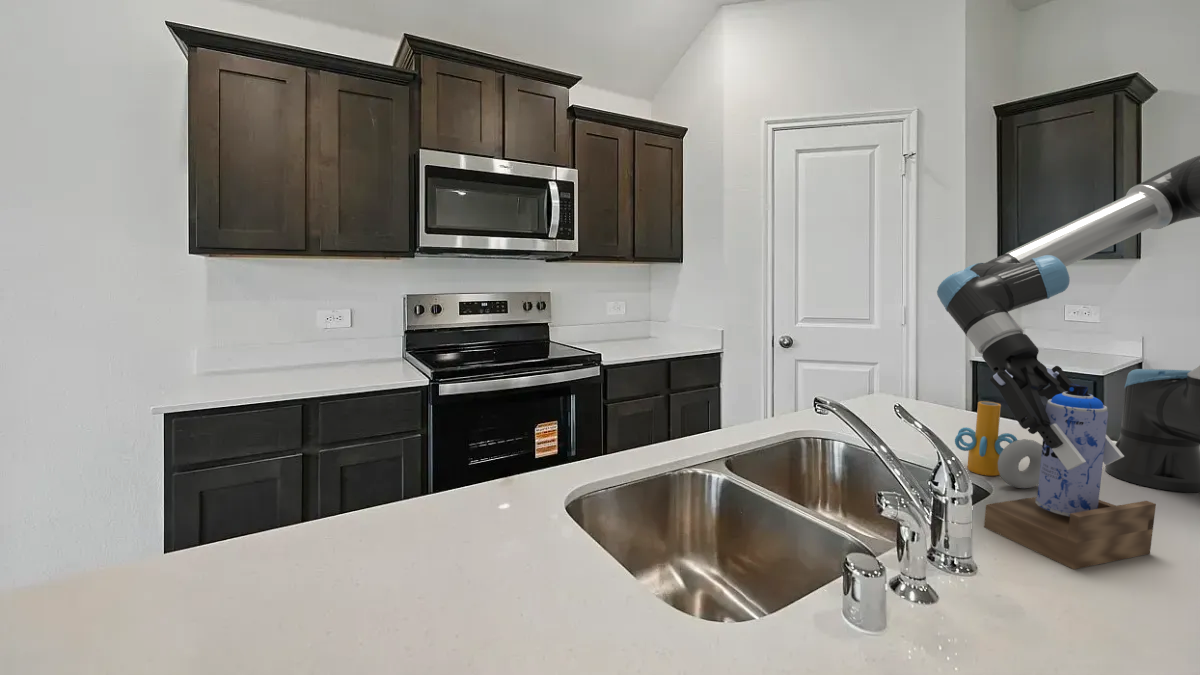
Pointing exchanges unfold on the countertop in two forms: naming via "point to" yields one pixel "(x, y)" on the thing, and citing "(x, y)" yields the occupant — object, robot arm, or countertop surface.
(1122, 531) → the shelf step
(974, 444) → the cylinder
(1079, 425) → the aerosol can
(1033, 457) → the donut
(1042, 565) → the countertop surface
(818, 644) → the countertop surface
